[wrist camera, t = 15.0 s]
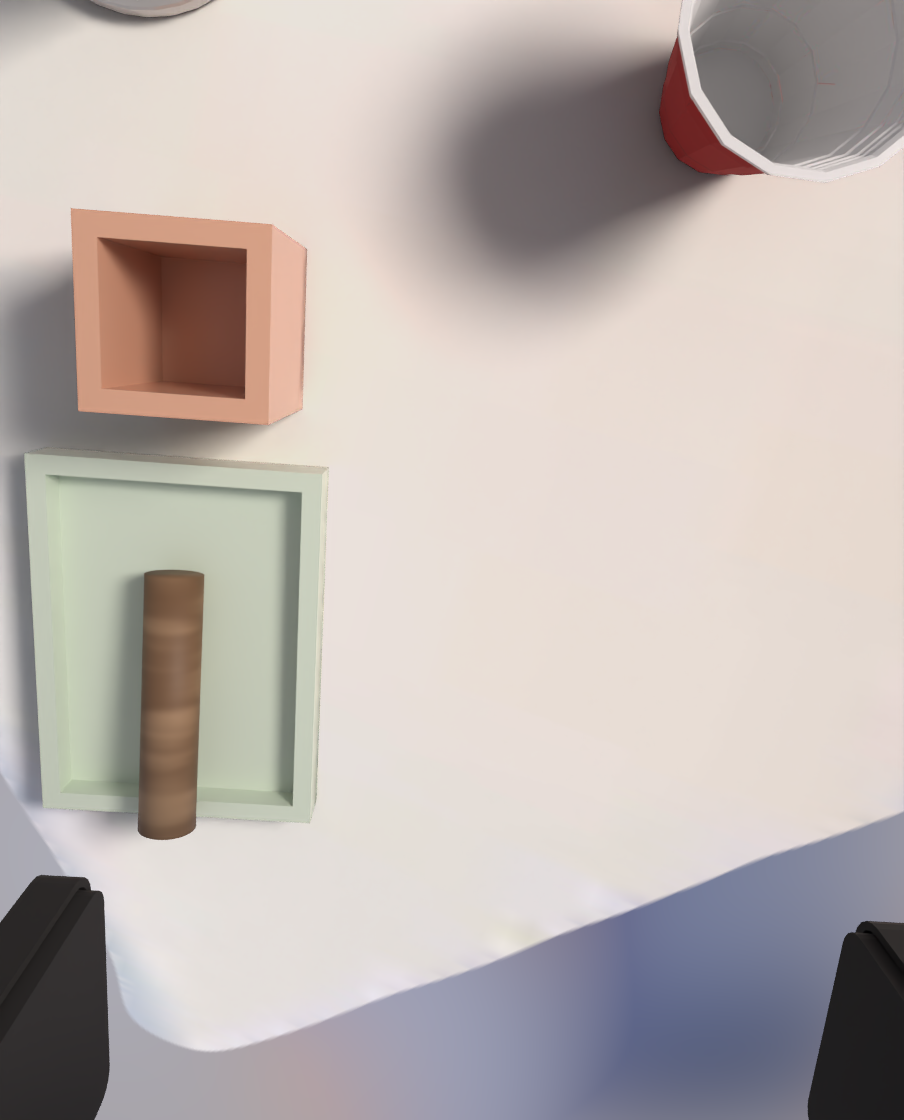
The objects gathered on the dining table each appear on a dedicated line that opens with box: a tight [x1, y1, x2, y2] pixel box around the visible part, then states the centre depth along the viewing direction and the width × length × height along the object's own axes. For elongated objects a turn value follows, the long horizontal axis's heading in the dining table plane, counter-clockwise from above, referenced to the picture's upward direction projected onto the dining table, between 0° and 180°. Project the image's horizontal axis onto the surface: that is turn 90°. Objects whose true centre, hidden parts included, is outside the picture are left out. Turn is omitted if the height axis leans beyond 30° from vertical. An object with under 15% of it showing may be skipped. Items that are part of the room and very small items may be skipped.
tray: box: [24, 447, 329, 823], centre depth 46 cm, size 20×15×2 cm
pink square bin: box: [71, 208, 307, 425], centre depth 39 cm, size 8×8×9 cm
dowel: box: [138, 570, 204, 840], centre depth 45 cm, size 8×3×14 cm
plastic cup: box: [659, 0, 904, 183], centre depth 35 cm, size 11×11×12 cm
